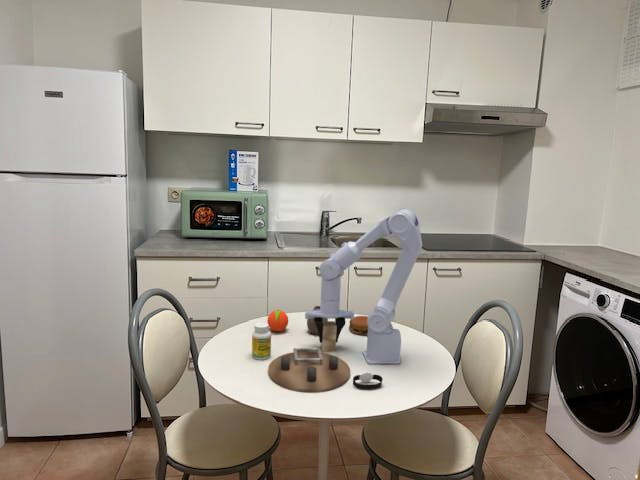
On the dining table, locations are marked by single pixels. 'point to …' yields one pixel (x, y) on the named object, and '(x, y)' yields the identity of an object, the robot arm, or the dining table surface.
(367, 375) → the watch
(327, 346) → the stool leg
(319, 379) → the stool seat
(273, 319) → the clementine
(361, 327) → the burger
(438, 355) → the dining table surface
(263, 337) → the supplement bottle
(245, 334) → the dining table surface
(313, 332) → the vase
